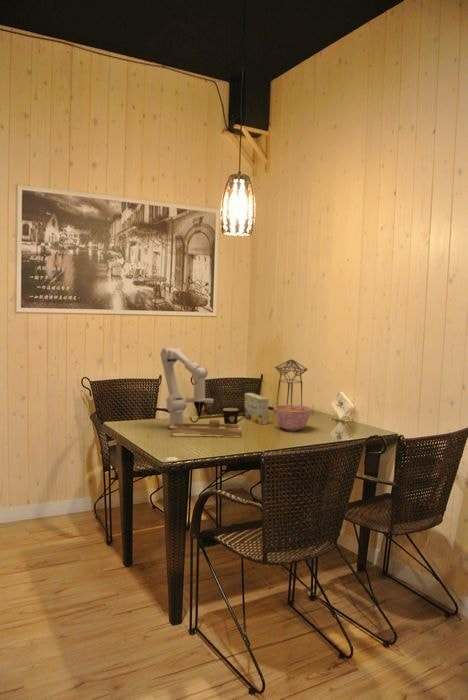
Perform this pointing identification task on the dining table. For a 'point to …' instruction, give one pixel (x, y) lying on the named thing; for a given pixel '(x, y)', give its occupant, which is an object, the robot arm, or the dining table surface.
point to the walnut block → (214, 424)
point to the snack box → (256, 408)
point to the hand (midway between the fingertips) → (199, 416)
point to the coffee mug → (231, 415)
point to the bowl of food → (292, 416)
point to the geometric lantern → (288, 376)
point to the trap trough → (207, 429)
